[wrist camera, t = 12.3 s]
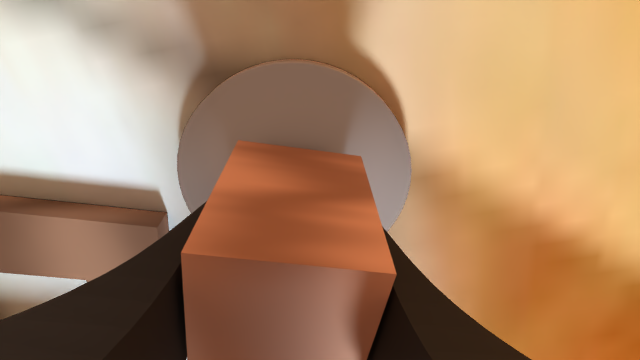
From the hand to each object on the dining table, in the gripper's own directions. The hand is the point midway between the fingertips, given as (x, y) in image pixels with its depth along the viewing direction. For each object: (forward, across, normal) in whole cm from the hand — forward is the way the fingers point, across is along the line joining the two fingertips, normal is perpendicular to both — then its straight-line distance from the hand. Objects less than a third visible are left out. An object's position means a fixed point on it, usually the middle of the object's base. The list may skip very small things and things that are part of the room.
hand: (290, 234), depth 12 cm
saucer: (+4, 0, 0) cm, 4 cm away
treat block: (+2, 0, 0) cm, 2 cm away
